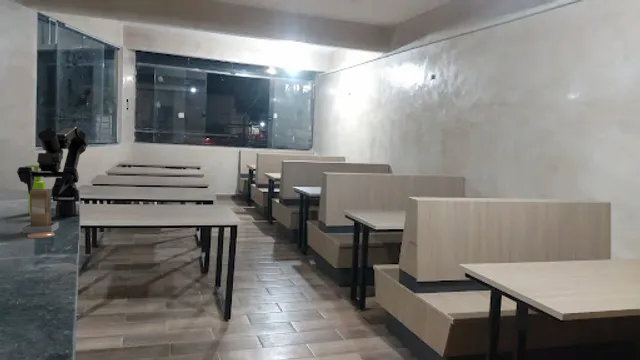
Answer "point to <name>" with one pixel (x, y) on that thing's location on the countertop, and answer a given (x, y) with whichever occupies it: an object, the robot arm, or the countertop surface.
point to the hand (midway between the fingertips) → (44, 193)
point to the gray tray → (40, 228)
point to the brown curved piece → (40, 234)
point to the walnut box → (40, 207)
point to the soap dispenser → (35, 183)
